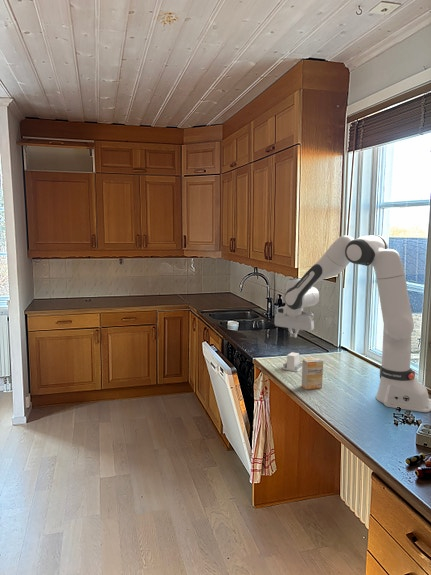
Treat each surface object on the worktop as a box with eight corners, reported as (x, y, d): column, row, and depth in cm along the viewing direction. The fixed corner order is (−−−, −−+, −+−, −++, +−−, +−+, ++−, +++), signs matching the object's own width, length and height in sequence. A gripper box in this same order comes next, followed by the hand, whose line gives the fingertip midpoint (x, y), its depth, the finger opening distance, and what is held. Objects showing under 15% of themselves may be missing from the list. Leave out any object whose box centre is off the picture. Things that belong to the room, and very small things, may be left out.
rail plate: (303, 368, 230) (303, 363, 230) (297, 372, 224) (297, 367, 224) (288, 365, 235) (288, 360, 234) (282, 368, 229) (282, 364, 228)
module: (298, 366, 231) (299, 353, 230) (294, 369, 226) (294, 356, 225) (291, 365, 233) (292, 352, 232) (286, 368, 228) (287, 355, 227)
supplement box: (306, 390, 200) (306, 362, 199) (301, 386, 205) (302, 358, 203) (322, 388, 203) (323, 360, 201) (317, 384, 207) (318, 357, 205)
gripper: (316, 311, 222) (315, 338, 224) (278, 306, 233) (278, 332, 235) (311, 313, 216) (310, 341, 219) (273, 308, 228) (272, 335, 230)
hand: (293, 336), depth 227 cm, fingers closed
